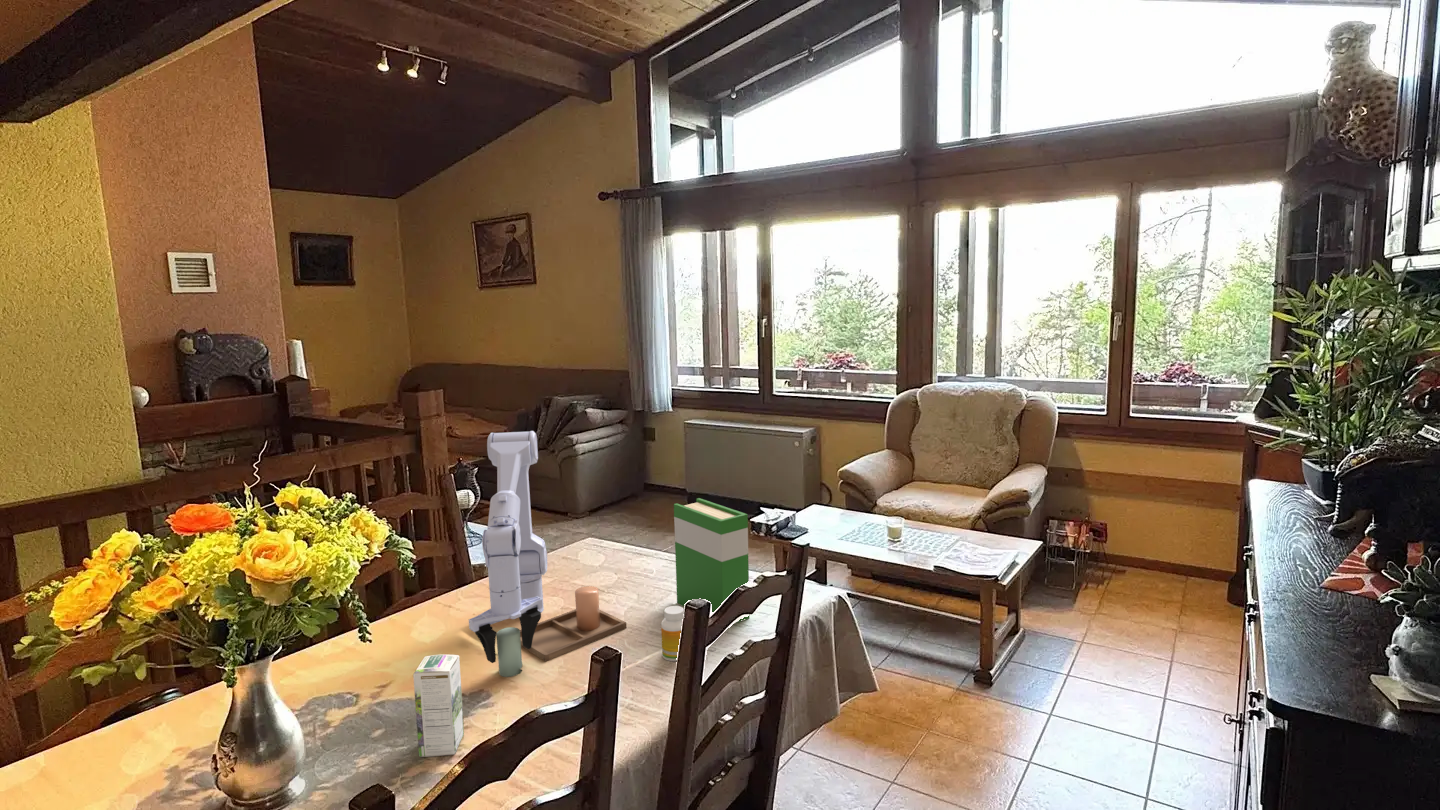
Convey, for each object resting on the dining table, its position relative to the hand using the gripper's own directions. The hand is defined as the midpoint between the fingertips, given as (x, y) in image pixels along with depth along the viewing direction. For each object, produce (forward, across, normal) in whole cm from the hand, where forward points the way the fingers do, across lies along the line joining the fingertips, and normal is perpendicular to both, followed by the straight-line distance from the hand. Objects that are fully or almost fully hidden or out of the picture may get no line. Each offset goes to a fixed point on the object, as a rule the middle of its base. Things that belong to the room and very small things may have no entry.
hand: (509, 653), depth 143 cm
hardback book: (+4, +46, -9) cm, 47 cm away
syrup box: (+4, -20, -14) cm, 25 cm away
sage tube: (+4, 0, 0) cm, 4 cm away
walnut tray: (+3, +16, +4) cm, 17 cm away
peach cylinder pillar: (+3, +21, +4) cm, 22 cm away
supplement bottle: (+4, +26, -19) cm, 32 cm away
